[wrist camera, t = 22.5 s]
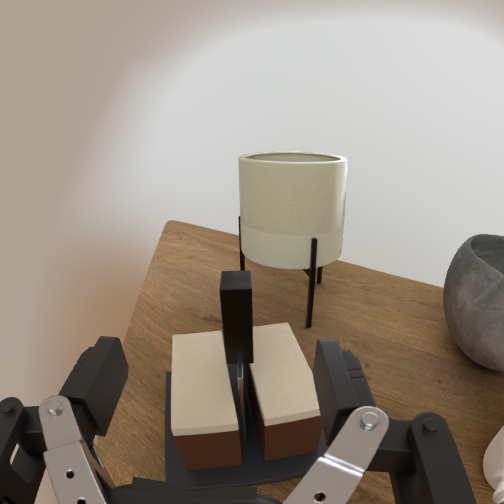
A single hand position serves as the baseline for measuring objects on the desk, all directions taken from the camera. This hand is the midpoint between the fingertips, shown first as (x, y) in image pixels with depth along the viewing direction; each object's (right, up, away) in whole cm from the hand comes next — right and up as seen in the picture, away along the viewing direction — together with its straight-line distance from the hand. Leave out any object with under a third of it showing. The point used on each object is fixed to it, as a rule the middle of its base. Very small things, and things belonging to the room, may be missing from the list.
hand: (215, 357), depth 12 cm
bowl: (+36, -10, +23) cm, 44 cm away
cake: (+1, -13, +18) cm, 22 cm away
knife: (+1, -12, +17) cm, 21 cm away
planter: (+7, -4, +40) cm, 41 cm away
